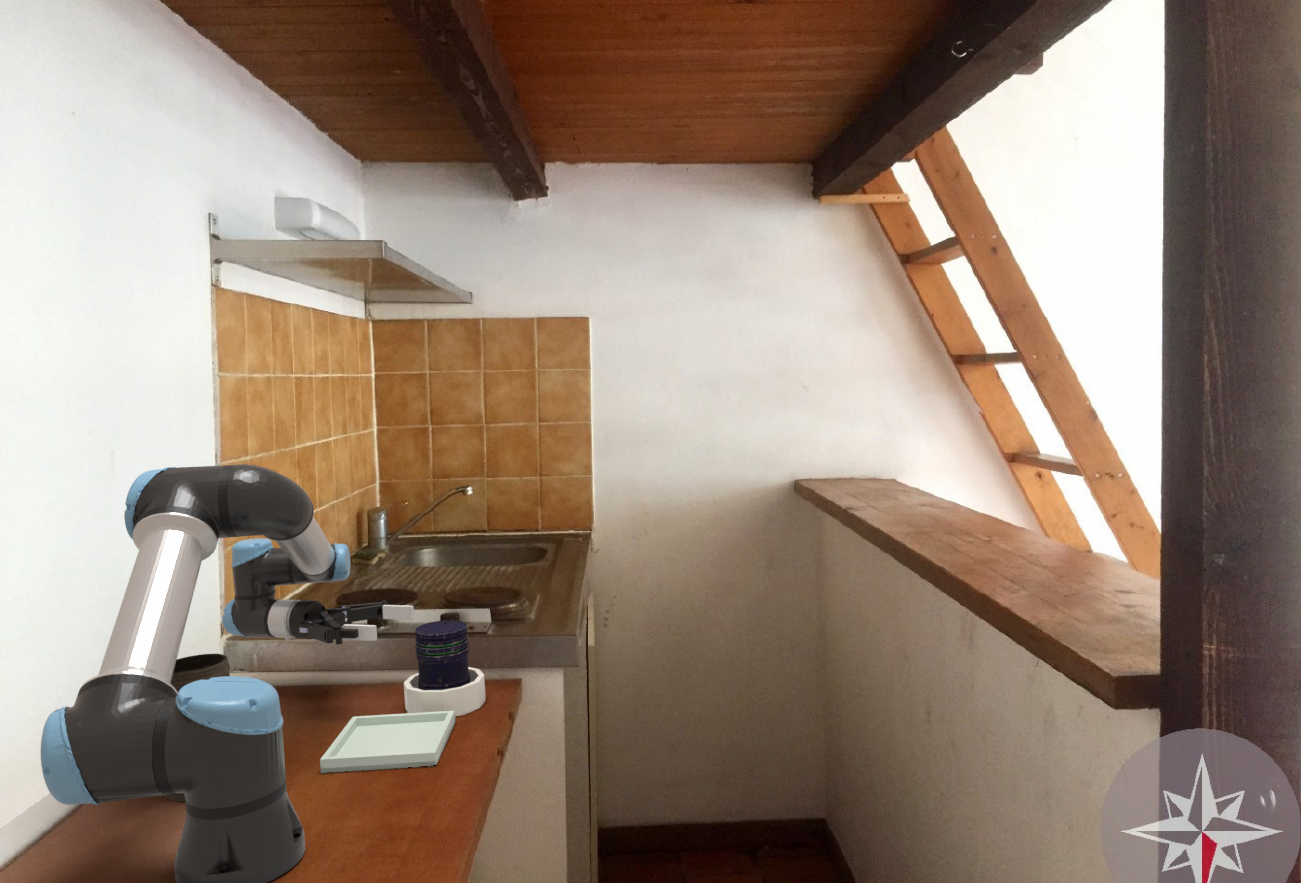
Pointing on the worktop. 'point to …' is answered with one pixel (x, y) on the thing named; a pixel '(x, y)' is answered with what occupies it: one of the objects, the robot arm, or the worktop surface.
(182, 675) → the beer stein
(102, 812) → the worktop surface
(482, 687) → the holder ring
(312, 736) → the worktop surface
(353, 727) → the tray
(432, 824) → the worktop surface
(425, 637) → the rusty blue drum
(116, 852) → the worktop surface
